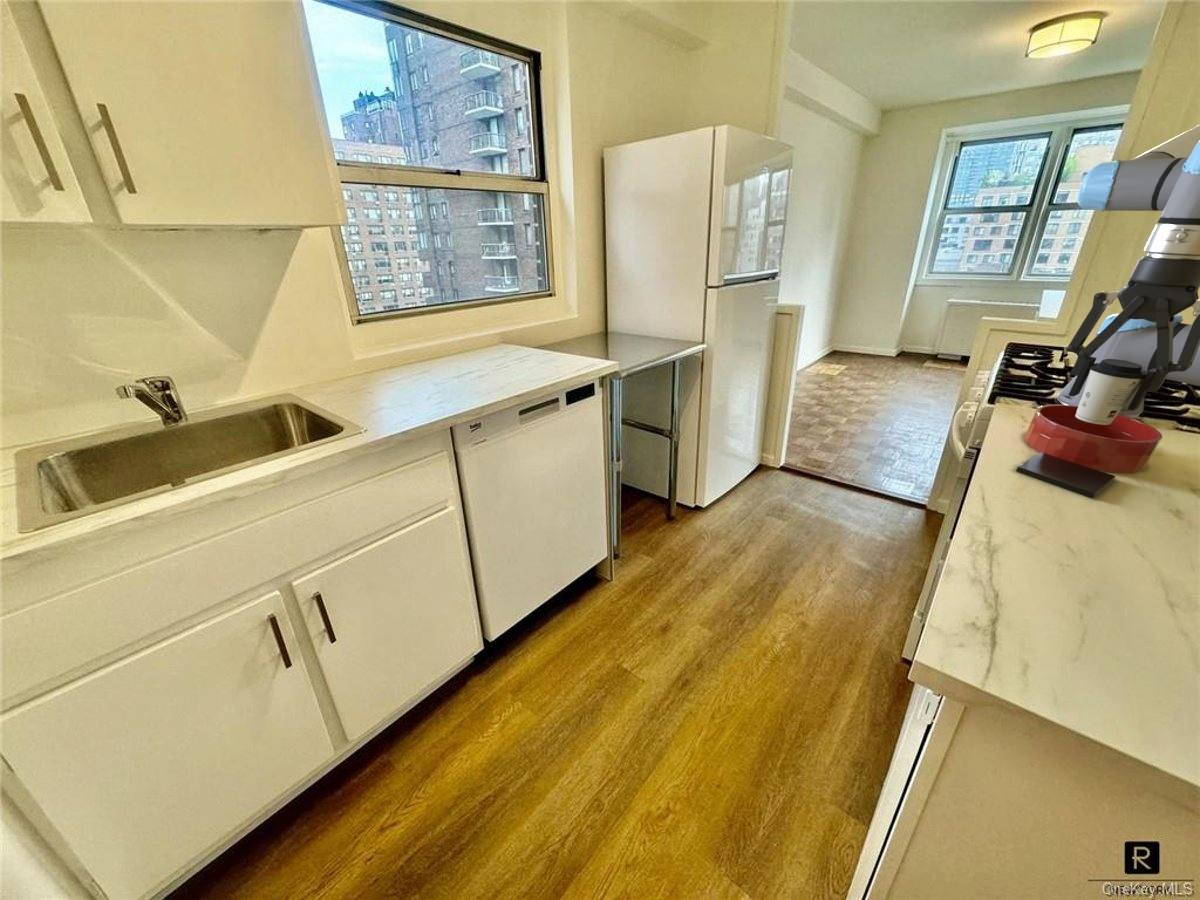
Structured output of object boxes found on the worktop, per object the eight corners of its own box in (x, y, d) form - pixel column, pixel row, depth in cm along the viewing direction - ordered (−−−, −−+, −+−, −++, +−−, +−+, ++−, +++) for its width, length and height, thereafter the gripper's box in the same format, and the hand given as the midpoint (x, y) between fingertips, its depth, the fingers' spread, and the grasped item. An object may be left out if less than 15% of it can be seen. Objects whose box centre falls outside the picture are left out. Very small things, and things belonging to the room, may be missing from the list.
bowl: (1043, 425, 109) (1056, 398, 106) (1156, 457, 96) (1174, 427, 93) (1009, 444, 100) (1021, 415, 97) (1127, 482, 87) (1146, 450, 84)
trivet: (1039, 456, 95) (1041, 452, 95) (1113, 480, 87) (1116, 475, 87) (1015, 471, 90) (1017, 466, 90) (1092, 498, 82) (1095, 493, 81)
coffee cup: (1126, 431, 79) (1158, 372, 75) (1071, 421, 82) (1099, 365, 78) (1114, 416, 84) (1143, 361, 80) (1062, 408, 88) (1088, 355, 83)
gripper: (1082, 252, 77) (1023, 388, 88) (1279, 264, 62) (1180, 426, 73) (1098, 250, 81) (1039, 381, 91) (1288, 261, 66) (1192, 416, 76)
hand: (1102, 400), depth 82 cm, fingers closed on coffee cup, 7 cm apart
